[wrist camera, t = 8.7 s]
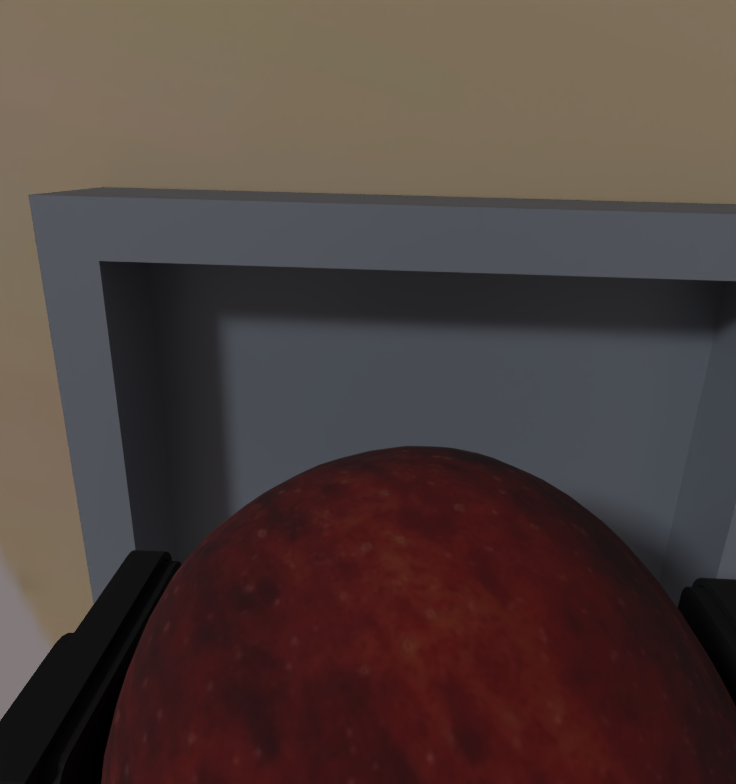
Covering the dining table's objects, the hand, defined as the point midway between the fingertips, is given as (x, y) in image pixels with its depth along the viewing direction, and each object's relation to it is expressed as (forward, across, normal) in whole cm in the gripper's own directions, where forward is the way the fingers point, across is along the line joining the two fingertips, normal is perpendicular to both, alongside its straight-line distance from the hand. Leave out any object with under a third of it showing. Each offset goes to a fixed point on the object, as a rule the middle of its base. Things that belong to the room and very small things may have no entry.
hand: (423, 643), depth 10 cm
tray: (+5, 0, 0) cm, 5 cm away
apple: (+2, 0, 0) cm, 2 cm away
